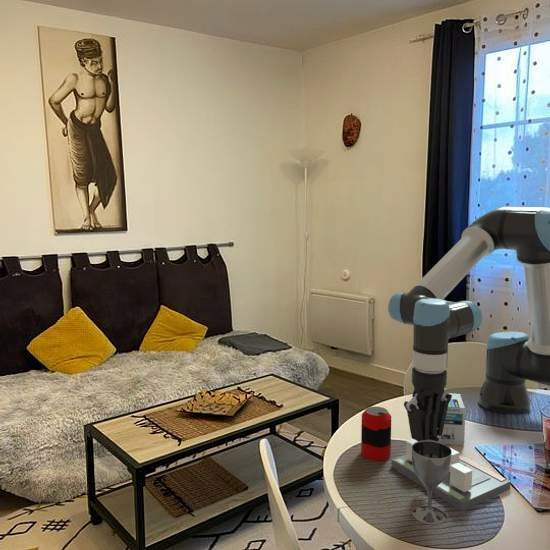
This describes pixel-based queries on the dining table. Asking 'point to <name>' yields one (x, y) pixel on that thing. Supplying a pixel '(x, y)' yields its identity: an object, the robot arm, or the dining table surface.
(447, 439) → the light bulb box
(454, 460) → the white square block
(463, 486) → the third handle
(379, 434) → the soda can
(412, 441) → the handle
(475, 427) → the dining table surface
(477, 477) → the board
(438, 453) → the wine glass
